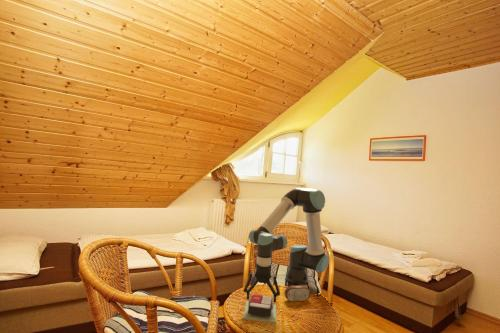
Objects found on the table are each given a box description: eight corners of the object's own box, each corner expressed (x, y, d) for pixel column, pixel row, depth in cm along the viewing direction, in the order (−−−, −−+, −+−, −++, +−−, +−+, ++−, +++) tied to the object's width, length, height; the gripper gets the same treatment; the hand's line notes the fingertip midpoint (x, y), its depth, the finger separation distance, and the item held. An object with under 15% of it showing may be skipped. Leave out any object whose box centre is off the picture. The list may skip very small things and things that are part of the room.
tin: (307, 298, 166) (308, 284, 166) (310, 301, 163) (311, 286, 163) (283, 300, 162) (284, 285, 162) (285, 302, 159) (286, 287, 159)
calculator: (272, 296, 153) (270, 307, 138) (272, 304, 153) (270, 317, 138) (252, 293, 155) (248, 304, 140) (252, 301, 155) (247, 313, 140)
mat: (276, 305, 154) (276, 304, 154) (275, 323, 137) (276, 321, 137) (246, 302, 156) (246, 301, 156) (242, 319, 138) (242, 317, 138)
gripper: (286, 264, 149) (283, 306, 149) (241, 259, 151) (238, 301, 151) (287, 269, 142) (284, 313, 142) (240, 264, 144) (237, 307, 144)
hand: (260, 307), depth 146 cm, fingers closed on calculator, 11 cm apart
